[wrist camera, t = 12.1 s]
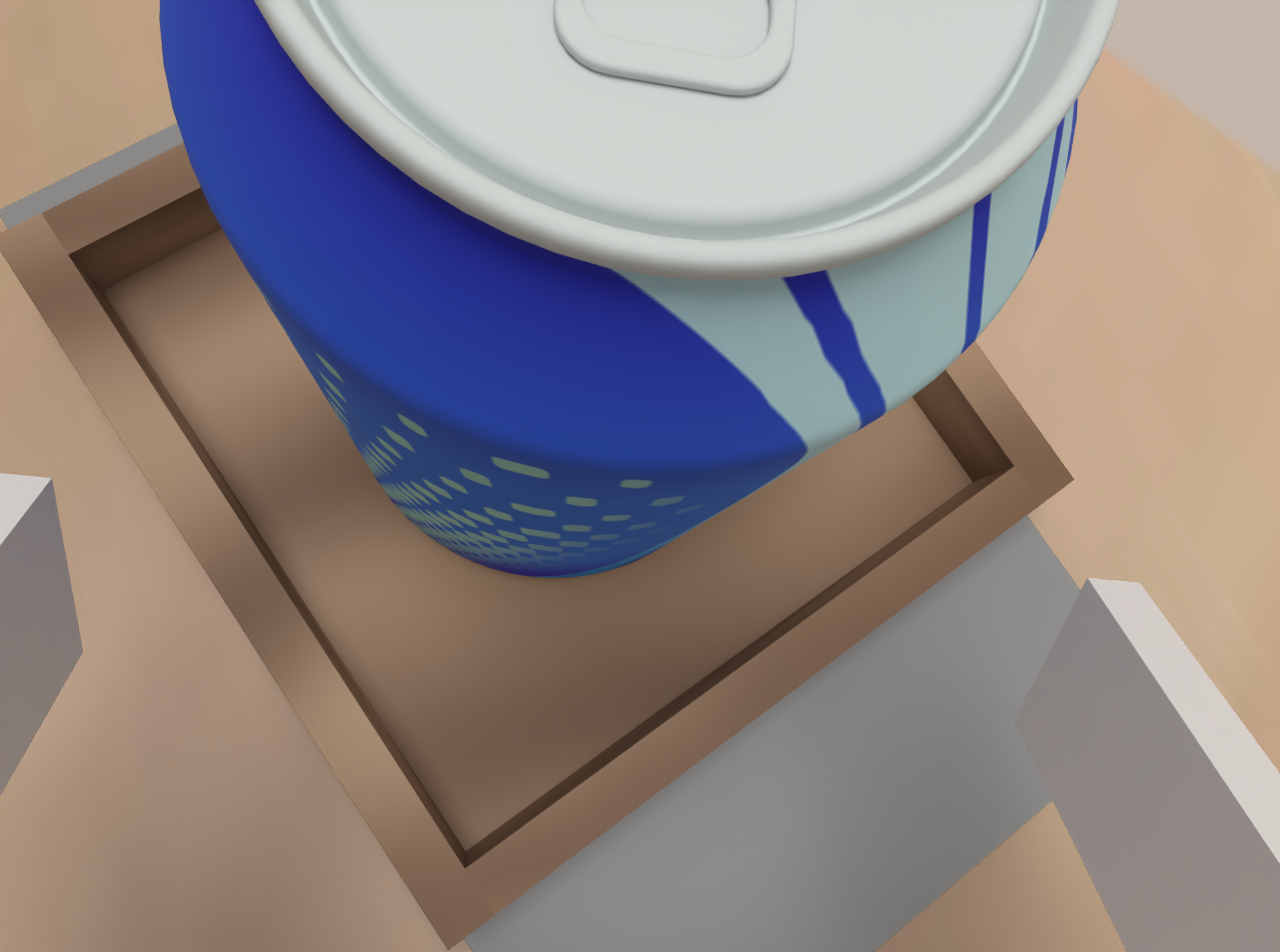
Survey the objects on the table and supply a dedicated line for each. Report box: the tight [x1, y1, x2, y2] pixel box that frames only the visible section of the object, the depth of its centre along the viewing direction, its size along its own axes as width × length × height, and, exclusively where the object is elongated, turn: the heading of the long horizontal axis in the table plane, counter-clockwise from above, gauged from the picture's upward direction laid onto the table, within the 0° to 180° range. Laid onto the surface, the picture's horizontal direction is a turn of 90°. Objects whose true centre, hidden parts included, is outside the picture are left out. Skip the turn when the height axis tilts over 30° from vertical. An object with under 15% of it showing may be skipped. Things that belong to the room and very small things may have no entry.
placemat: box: [0, 123, 1080, 952], centre depth 23 cm, size 24×16×1 cm, turn 35°
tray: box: [0, 143, 1074, 950], centre depth 22 cm, size 16×16×2 cm
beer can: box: [160, 0, 1120, 578], centre depth 15 cm, size 8×8×16 cm
